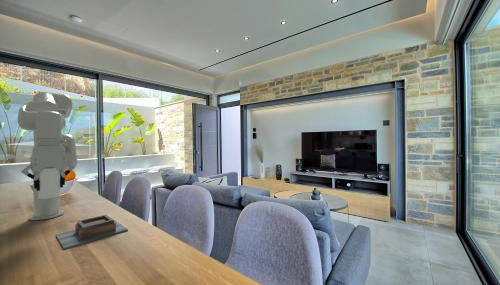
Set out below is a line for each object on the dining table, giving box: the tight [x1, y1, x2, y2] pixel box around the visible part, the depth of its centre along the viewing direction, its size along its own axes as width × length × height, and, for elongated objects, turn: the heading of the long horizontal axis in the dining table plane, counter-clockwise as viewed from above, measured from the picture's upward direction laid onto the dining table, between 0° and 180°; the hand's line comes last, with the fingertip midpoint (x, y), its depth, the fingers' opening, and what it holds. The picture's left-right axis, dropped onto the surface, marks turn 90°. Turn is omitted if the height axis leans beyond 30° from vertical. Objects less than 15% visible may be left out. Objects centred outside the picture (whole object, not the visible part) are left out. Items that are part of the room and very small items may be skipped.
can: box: [38, 167, 62, 200], centre depth 86 cm, size 6×6×12 cm
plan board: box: [55, 214, 129, 250], centre depth 87 cm, size 16×20×5 cm
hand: (50, 188), depth 86 cm, fingers closed on can, 6 cm apart
